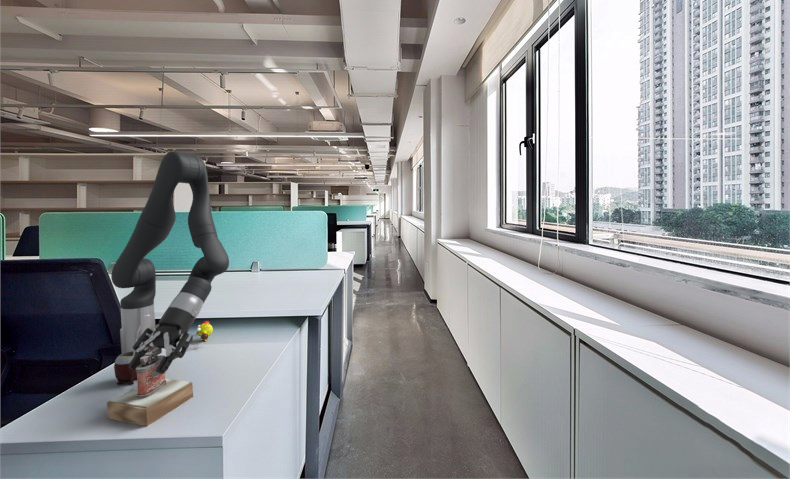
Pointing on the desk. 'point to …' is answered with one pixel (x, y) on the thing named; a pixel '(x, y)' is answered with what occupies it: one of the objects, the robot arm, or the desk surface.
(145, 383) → the lighter
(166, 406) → the wooden flat block
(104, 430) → the desk surface
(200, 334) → the toy figure
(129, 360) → the mate gourd
